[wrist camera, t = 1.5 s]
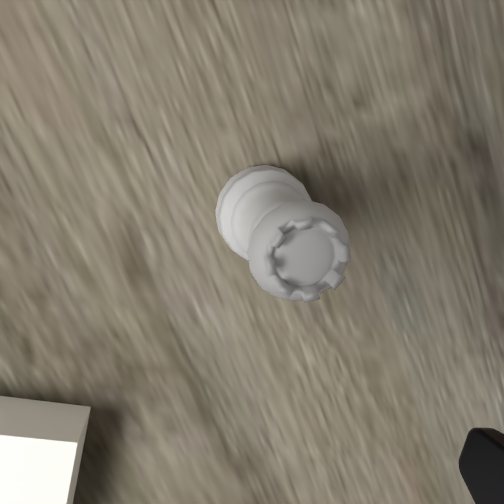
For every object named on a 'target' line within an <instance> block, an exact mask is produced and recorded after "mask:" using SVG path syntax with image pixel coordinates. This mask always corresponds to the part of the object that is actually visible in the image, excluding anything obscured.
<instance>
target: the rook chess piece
mask: <svg viewBox="0 0 504 504" xmlns="http://www.w3.org/2000/svg"><path fill="white" fill-rule="evenodd" d="M215 213H216V219H217V225H218V230H219V232H220V234H221V235H222V237H223V238H224V240H225V241H226V243H227V244H228V246H229V247H230V249H231V250H233V251H234V252H235V253H237V254H238V255H240V256H241V257H243V258H244V259H246V260H249V266H250V272H251V273H252V275H253V276H254V278H255V279H256V281H257V282H258V284H259V286H260V287H261V288H262V289H264V290H265V291H267V292H268V293H270V294H272V295H273V296H275V297H276V298H281V299H286V300H292V301H299V300H303V301H304V302H308V301H313V300H318V299H320V296H319V294H321V293H322V292H324V291H326V290H327V289H329V288H331V287H332V288H333V289H334V290H335V289H336V288H337V287H338V286H339V284H340V283H341V282H342V281H343V279H344V278H345V277H344V276H343V275H342V273H343V272H344V269H345V266H346V263H347V262H350V249H349V235H348V232H347V230H346V228H345V226H344V224H343V222H342V220H341V218H340V216H339V215H337V214H336V213H335V212H333V211H332V210H331V209H330V208H328V207H327V206H326V205H324V204H321V203H317V202H313V201H312V200H311V198H310V196H309V194H308V193H307V191H306V189H305V187H304V185H303V184H302V183H301V182H300V181H299V180H297V179H296V178H295V177H294V176H292V175H291V174H290V173H288V172H287V171H286V170H285V169H281V168H277V167H273V166H269V165H261V166H255V167H248V168H246V169H244V170H243V171H241V172H239V173H238V174H236V175H235V176H233V177H231V178H230V180H229V181H228V183H227V184H226V185H225V187H224V188H223V190H222V191H221V192H220V194H219V198H218V203H217V207H216V211H215Z"/></svg>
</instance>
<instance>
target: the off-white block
mask: <svg viewBox="0 0 504 504" xmlns="http://www.w3.org/2000/svg"><path fill="white" fill-rule="evenodd" d="M90 409H91V407H88V406H80V405H72V404H64V403H55V402H47V401H39V400H31V399H22V398H14V397H6V396H0V504H73V499H74V494H75V489H76V484H77V478H78V473H79V468H80V462H81V457H82V452H83V446H84V441H85V436H86V430H87V425H88V420H89V414H90Z"/></svg>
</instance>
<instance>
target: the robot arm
mask: <svg viewBox="0 0 504 504" xmlns="http://www.w3.org/2000/svg"><path fill="white" fill-rule="evenodd" d="M459 469H460V473H461V475H462V477H463V479H464V481H465V483H466V485H467V487H468V489H469V491H470V493H471V495H472V498H473V500H474V502H475V504H504V434H503V433H501V432H499V431H497V430H495V429H492V428H473V429H471V430H470V431H469V433H468V435H467V438H466V441H465V444H464V447H463V449H462V452H461V455H460V458H459Z"/></svg>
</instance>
